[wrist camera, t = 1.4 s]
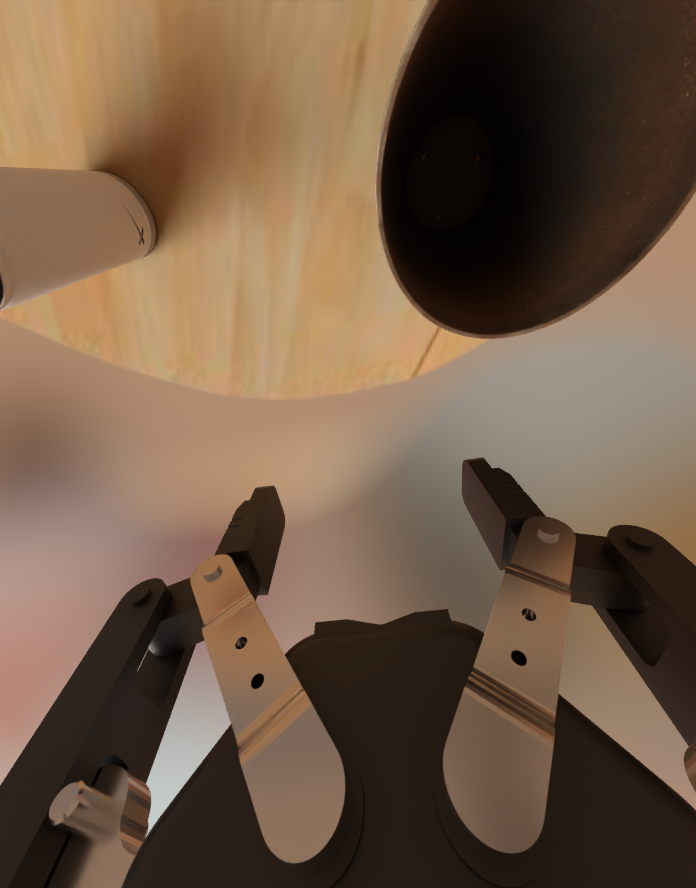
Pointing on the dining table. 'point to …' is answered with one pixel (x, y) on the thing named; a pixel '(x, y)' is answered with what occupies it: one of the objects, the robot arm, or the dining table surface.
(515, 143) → the plant pot
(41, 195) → the travel mug
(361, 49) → the dining table surface
